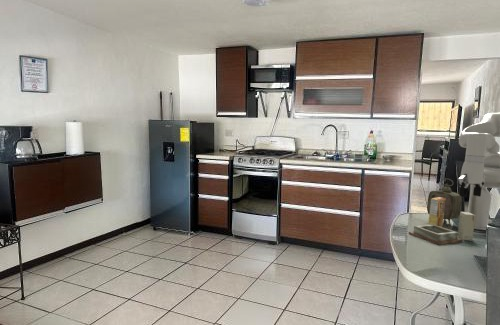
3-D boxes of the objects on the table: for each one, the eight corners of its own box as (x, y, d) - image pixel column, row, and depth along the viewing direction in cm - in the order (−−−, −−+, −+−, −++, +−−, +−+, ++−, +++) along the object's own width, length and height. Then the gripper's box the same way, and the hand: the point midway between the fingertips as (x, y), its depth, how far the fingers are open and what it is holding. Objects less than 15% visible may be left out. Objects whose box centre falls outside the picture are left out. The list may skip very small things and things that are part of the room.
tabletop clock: (425, 220, 190) (430, 176, 187) (435, 219, 194) (440, 176, 192) (450, 227, 177) (456, 180, 175) (460, 226, 182) (466, 180, 179)
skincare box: (472, 241, 157) (476, 215, 155) (462, 240, 158) (465, 214, 156) (467, 236, 163) (470, 212, 162) (457, 235, 164) (460, 211, 162)
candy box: (434, 224, 182) (437, 196, 181) (443, 226, 179) (446, 198, 177) (427, 227, 177) (430, 198, 175) (435, 229, 173) (439, 200, 172)
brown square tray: (431, 231, 170) (432, 223, 169) (462, 241, 155) (463, 233, 155) (408, 233, 163) (409, 225, 163) (438, 244, 149) (439, 236, 148)
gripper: (478, 159, 163) (474, 194, 165) (454, 158, 156) (449, 194, 158) (494, 160, 156) (490, 197, 158) (470, 160, 149) (465, 198, 151)
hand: (469, 196), depth 158 cm, fingers open, 9 cm apart
